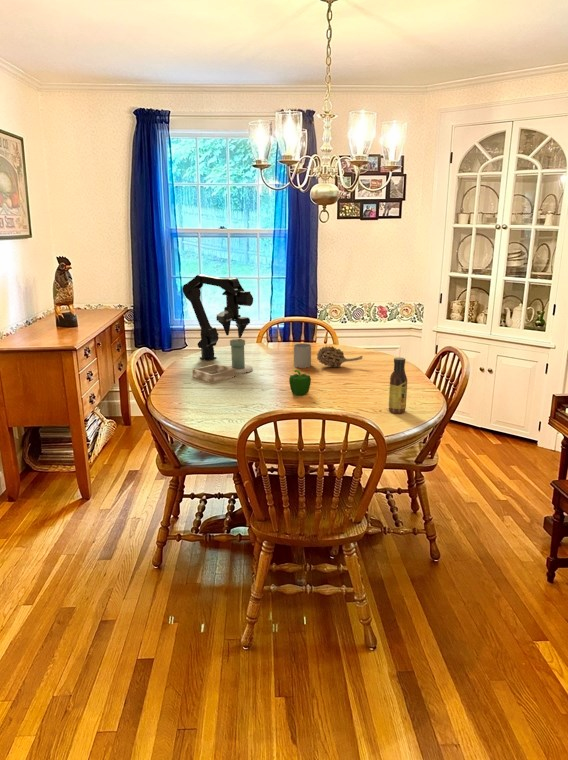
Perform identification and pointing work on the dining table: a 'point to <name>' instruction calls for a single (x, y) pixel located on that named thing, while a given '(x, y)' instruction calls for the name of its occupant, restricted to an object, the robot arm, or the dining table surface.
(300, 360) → the cup
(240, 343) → the flower pot
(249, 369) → the saucer
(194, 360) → the dining table surface
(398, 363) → the sauce bottle
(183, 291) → the robot arm
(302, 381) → the bell pepper
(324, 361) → the pine cone
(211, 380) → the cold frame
